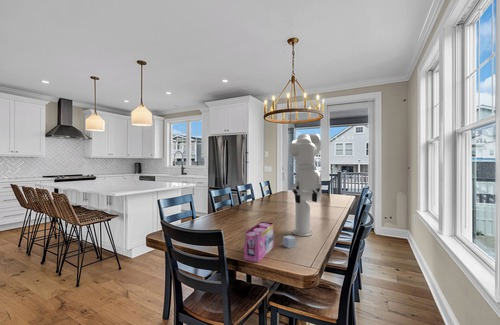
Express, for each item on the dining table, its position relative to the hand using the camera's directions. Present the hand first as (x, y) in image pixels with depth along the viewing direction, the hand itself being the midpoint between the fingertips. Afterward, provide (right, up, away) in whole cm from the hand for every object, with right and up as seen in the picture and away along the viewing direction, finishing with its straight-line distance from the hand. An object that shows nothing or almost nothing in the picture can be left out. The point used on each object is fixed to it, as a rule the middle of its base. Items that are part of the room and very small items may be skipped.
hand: (306, 202), depth 119 cm
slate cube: (-6, -28, +17) cm, 33 cm away
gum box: (-23, -28, +7) cm, 37 cm away
